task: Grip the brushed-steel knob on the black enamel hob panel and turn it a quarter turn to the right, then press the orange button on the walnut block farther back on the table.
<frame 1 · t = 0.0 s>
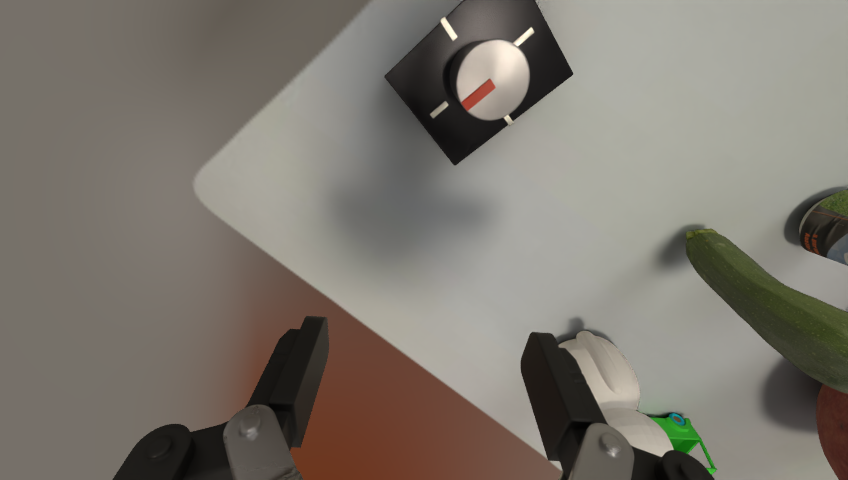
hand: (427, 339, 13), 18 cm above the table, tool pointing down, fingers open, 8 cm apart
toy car: (639, 423, 47), on the table
cat figurine: (576, 349, 40), on the table
vegetable: (682, 237, 32), on the table
hob panel: (473, 72, 24), on the table
hob knob: (485, 78, 20), point 5 cm above the table, hinge at 0.0°
beverage can: (826, 210, 30), on the table
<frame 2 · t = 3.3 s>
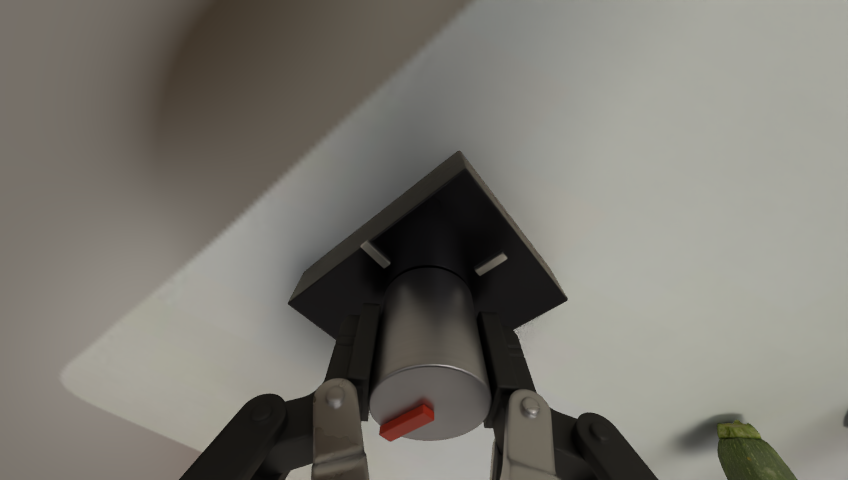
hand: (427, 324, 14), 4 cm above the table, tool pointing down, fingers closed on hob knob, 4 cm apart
vegetable: (710, 423, 25), on the table
hob panel: (426, 270, 17), on the table
hob knob: (428, 349, 13), point 5 cm above the table, hinge at 0.1°, touching gripper
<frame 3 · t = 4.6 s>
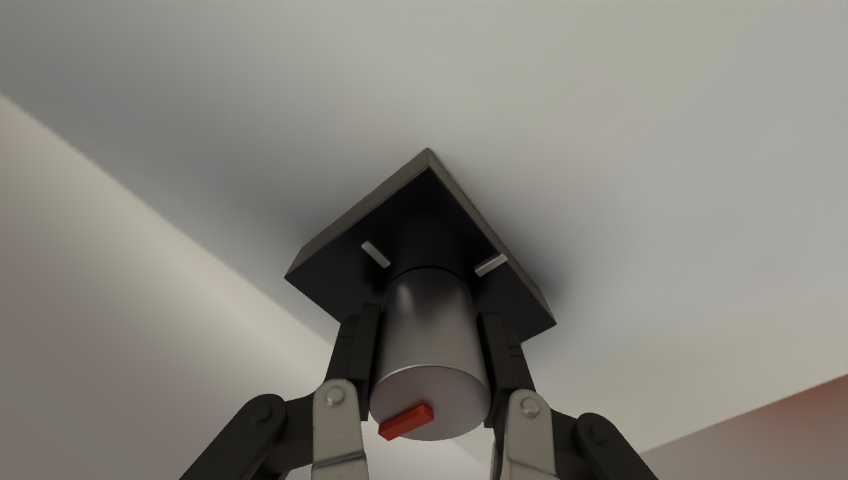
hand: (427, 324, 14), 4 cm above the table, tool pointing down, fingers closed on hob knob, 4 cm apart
hob panel: (426, 270, 17), on the table
hob knob: (428, 349, 13), point 5 cm above the table, hinge at -91.1°, touching gripper
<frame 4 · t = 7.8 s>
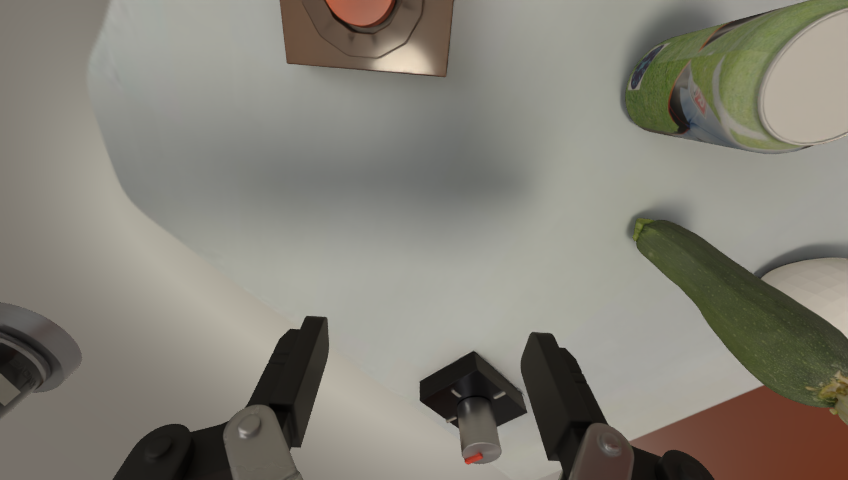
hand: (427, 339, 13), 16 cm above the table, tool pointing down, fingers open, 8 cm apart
cat figurine: (777, 284, 33), on the table
vegetable: (641, 229, 29), on the table
hob panel: (471, 387, 40), on the table
hob knob: (478, 430, 35), point 5 cm above the table, hinge at -91.1°
beverage can: (656, 77, 23), on the table
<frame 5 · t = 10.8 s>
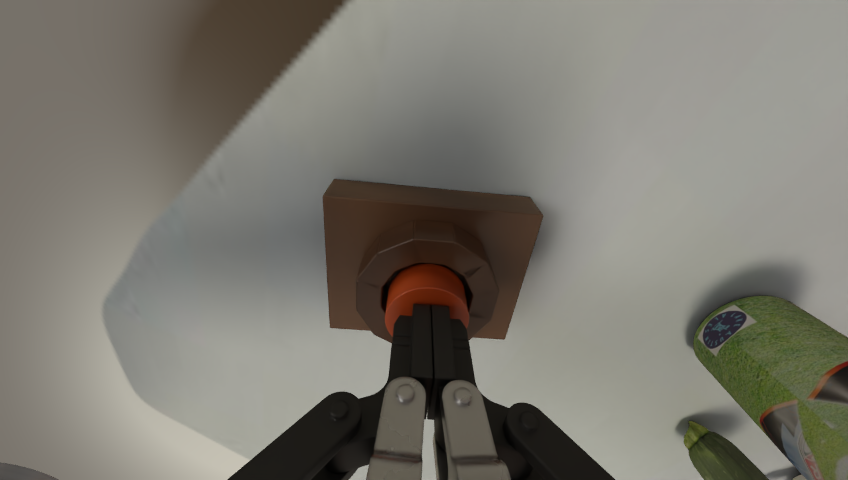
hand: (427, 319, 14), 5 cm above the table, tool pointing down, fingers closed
start button: (426, 307, 15), point 4 cm above the table, slide at 0.0 cm, touching gripper
vegetable: (691, 426, 28), on the table
button block: (425, 254, 19), on the table
beverage can: (726, 316, 21), on the table
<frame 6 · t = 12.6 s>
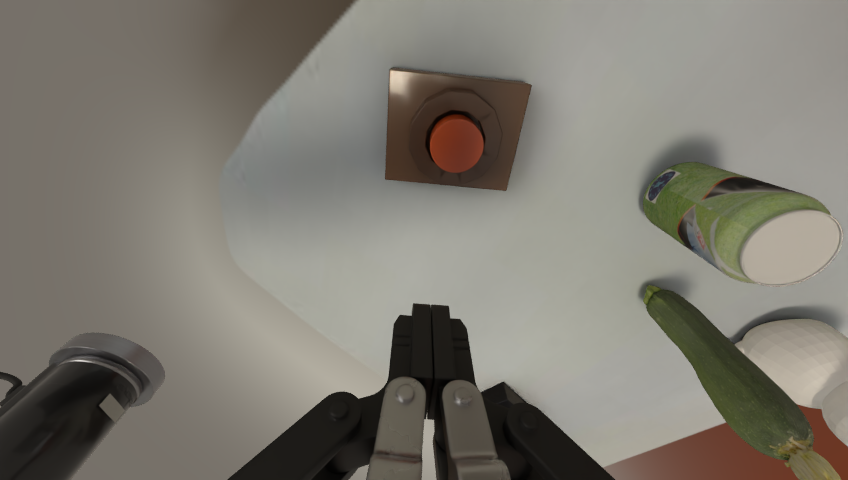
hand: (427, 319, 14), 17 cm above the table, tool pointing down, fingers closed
start button: (455, 143, 23), point 5 cm above the table, slide at 0.2 cm
cat figurine: (761, 336, 39), on the table
vegetable: (650, 293, 36), on the table
hob panel: (498, 410, 47), on the table
button block: (451, 129, 27), on the table
beverage can: (668, 185, 30), on the table
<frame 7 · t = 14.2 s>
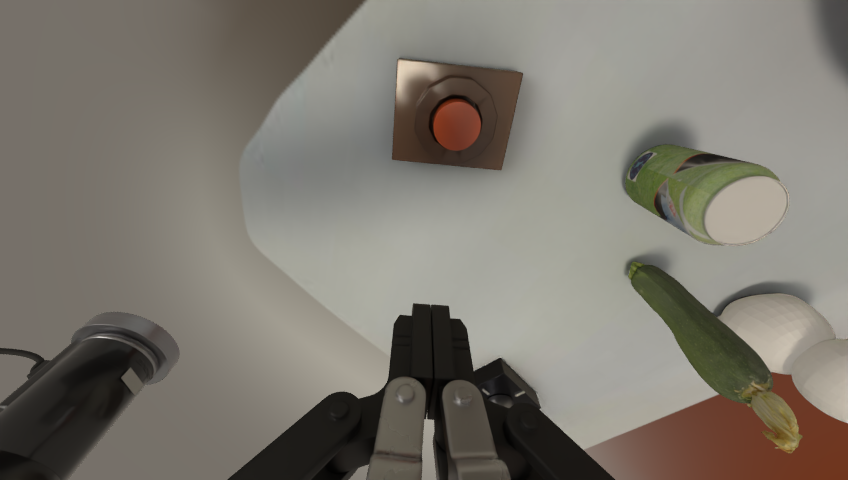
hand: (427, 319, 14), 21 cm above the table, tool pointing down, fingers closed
start button: (456, 124, 26), point 5 cm above the table, slide at 0.2 cm
cat figurine: (739, 311, 42), on the table
vegetable: (635, 269, 39), on the table
hob panel: (495, 387, 49), on the table
button block: (451, 114, 30), on the table
hob knob: (503, 421, 45), point 5 cm above the table, hinge at -91.1°
beverage can: (647, 167, 33), on the table
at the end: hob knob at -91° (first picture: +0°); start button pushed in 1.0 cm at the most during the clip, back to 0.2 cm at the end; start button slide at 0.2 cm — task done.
